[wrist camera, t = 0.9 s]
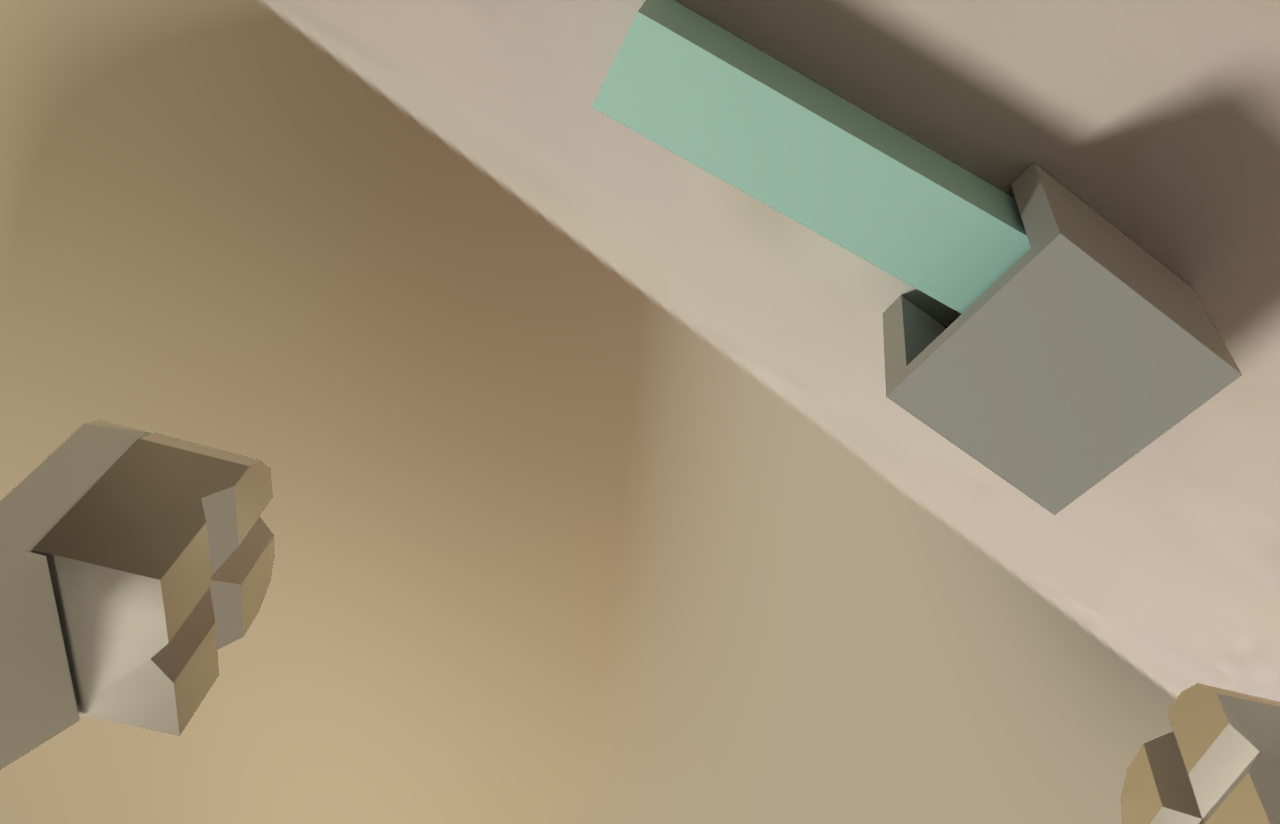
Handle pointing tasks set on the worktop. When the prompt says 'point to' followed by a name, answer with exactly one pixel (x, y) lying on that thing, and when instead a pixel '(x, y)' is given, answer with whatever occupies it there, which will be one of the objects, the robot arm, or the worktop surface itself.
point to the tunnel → (1060, 354)
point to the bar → (811, 155)
